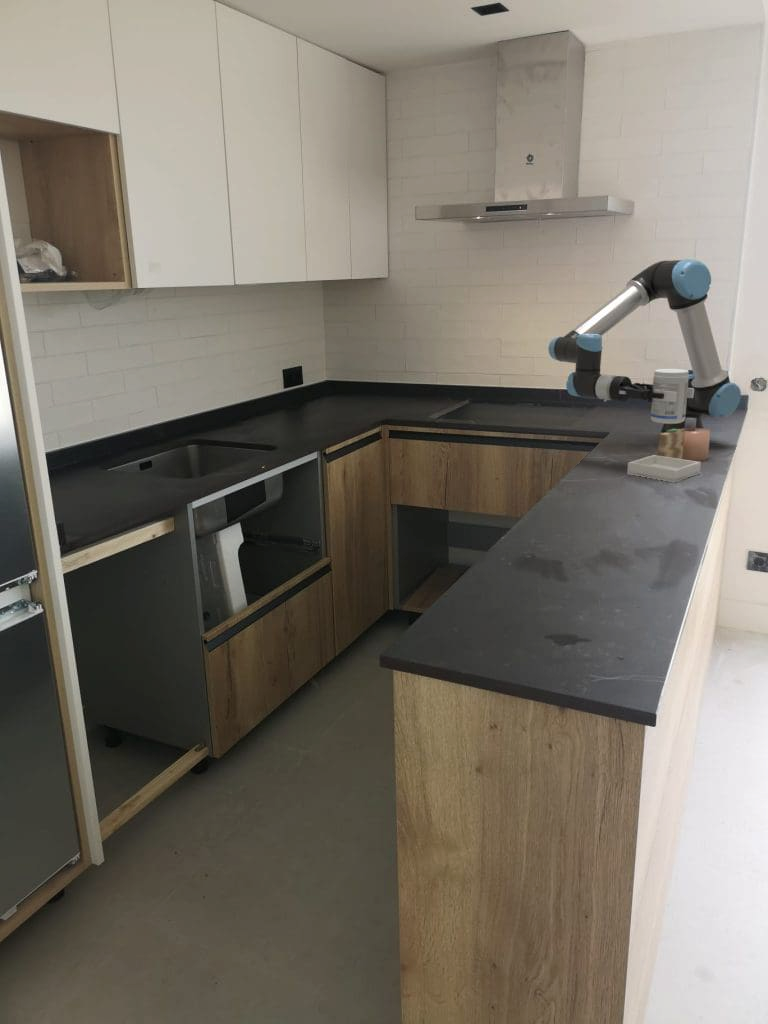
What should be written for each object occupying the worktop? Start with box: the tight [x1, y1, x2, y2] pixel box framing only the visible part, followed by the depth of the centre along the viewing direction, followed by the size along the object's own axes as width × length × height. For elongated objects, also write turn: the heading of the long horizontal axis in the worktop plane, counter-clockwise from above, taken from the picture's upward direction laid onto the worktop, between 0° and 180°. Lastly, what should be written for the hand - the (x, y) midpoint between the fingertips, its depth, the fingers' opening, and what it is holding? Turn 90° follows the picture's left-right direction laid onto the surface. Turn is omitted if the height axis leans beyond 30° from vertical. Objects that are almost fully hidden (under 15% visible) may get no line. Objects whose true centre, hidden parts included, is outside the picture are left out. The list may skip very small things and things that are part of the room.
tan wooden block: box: [657, 429, 685, 459], centre depth 249 cm, size 12×2×11 cm, turn 133°
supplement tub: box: [650, 368, 689, 424], centre depth 231 cm, size 10×10×15 cm
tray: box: [626, 454, 702, 484], centre depth 237 cm, size 15×15×4 cm
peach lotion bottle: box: [682, 417, 711, 462], centre depth 256 cm, size 9×9×13 cm
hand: (684, 395), depth 228 cm, fingers closed on supplement tub, 9 cm apart
